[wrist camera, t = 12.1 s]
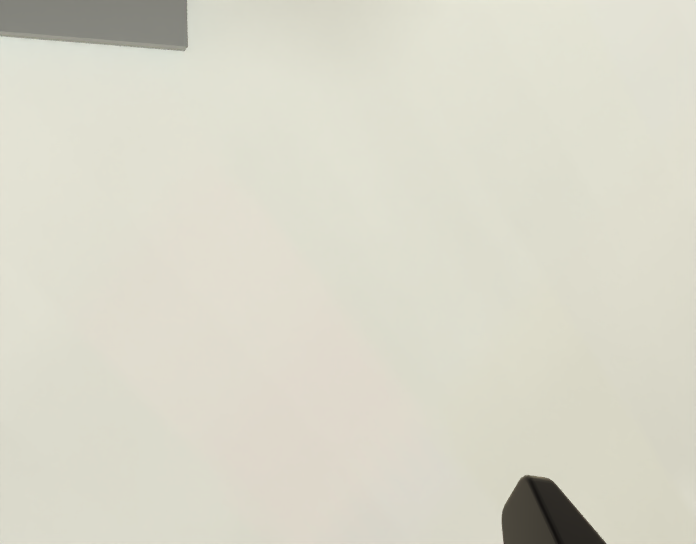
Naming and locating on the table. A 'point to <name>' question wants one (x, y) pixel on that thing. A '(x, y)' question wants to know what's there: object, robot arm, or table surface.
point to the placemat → (98, 22)
